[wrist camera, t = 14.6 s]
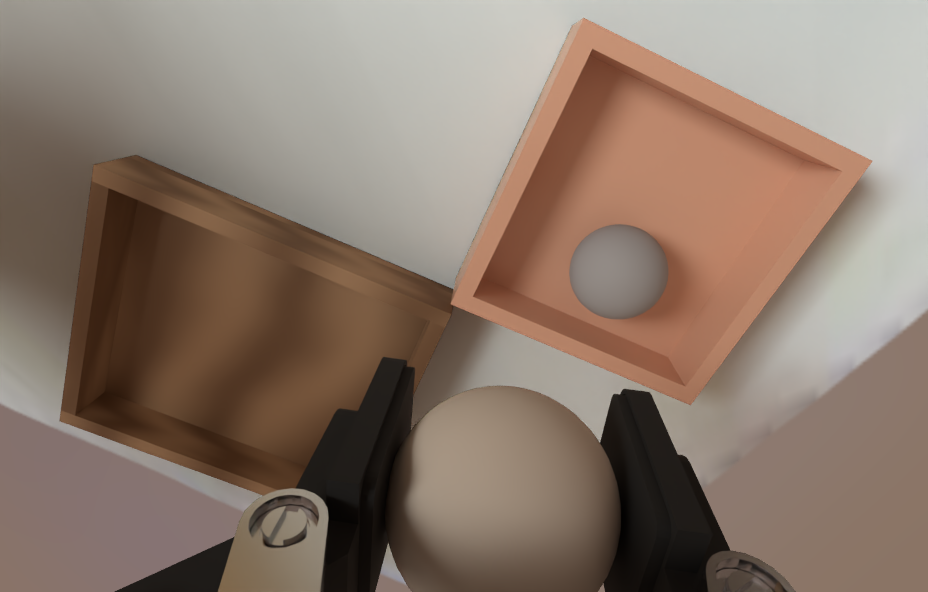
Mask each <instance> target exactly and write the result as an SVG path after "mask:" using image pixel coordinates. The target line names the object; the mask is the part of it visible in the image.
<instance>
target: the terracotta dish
mask: <svg viewBox="0 0 928 592" xmlns="http://www.w3.org/2000/svg"><path fill="white" fill-rule="evenodd" d="M871 163H872V161H871V160H869V159H867V158H865V157H863V156H861V155H859V154H857V153H855V152H853V151H851V150H849V149H847V148H845V147H843V146H841V145H839V144H837V143H835V142H833V141H831V140H829V139H827V138H825V137H823V136H821V135H819V134H817V133H815V132H813V131H811V130H809V129H807V128H805V127H803V126H801V125H799V124H797V123H795V122H793V121H791V120H789V119H787V118H785V117H783V116H781V115H779V114H777V113H775V112H773V111H771V110H769V109H767V108H764V107H762V106H760V105H758V104H756V103H754V102H752V101H750V100H748V99H746V98H744V97H742V96H740V95H738V94H736V93H734V92H732V91H730V90H728V89H726V88H724V87H722V86H720V85H718V84H716V83H714V82H712V81H710V80H708V79H706V78H704V77H702V76H700V75H698V74H696V73H694V72H692V71H690V70H688V69H686V68H684V67H682V66H680V65H678V64H676V63H674V62H672V61H670V60H668V59H666V58H664V57H662V56H660V55H658V54H656V53H654V52H651V51H649V50H647V49H645V48H643V47H641V46H639V45H637V44H635V43H633V42H631V41H629V40H627V39H625V38H623V37H621V36H619V35H617V34H615V33H613V32H611V31H609V30H607V29H605V28H603V27H601V26H599V25H597V24H595V23H593V22H591V21H589V20H587V19H585V18H583V19H581V20H580V21H578V22H577V23H575V24H574V25H572V27H571V29H570V31H569V33H568V36H567V38H566V40H565V42H564V44H563V46H562V49H561V51H560V53H559V55H558V57H557V59H556V62H555V64H554V66H553V68H552V70H551V72H550V75H549V77H548V79H547V81H546V83H545V85H544V88H543V90H542V92H541V94H540V96H539V99H538V101H537V103H536V105H535V107H534V109H533V112H532V114H531V116H530V118H529V120H528V122H527V125H526V127H525V129H524V131H523V133H522V135H521V138H520V140H519V142H518V144H517V146H516V149H515V151H514V153H513V155H512V157H511V159H510V162H509V164H508V166H507V168H506V170H505V172H504V175H503V177H502V179H501V181H500V183H499V185H498V188H497V190H496V192H495V194H494V196H493V198H492V201H491V203H490V205H489V207H488V209H487V212H486V214H485V216H484V218H483V220H482V222H481V225H480V227H479V229H478V231H477V233H476V235H475V238H474V240H473V242H472V244H471V246H470V248H469V251H468V253H467V255H466V257H465V259H464V262H463V264H462V266H461V268H460V270H459V272H458V275H457V277H456V280H455V285H454V290H453V294H452V299H451V305H454V306H456V307H458V308H461V309H463V310H465V311H468V312H470V313H473V314H475V315H477V316H480V317H482V318H484V319H487V320H489V321H492V322H494V323H496V324H499V325H501V326H504V327H506V328H508V329H511V330H513V331H515V332H518V333H520V334H523V335H525V336H527V337H530V338H532V339H534V340H537V341H539V342H542V343H544V344H546V345H549V346H551V347H553V348H556V349H558V350H561V351H563V352H565V353H568V354H570V355H573V356H575V357H577V358H580V359H582V360H584V361H587V362H589V363H592V364H594V365H596V366H599V367H601V368H603V369H606V370H608V371H611V372H613V373H615V374H618V375H620V376H622V377H625V378H627V379H630V380H632V381H634V382H637V383H639V384H642V385H644V386H646V387H649V388H651V389H653V390H656V391H658V392H661V393H663V394H665V395H668V396H670V397H672V398H675V399H677V400H680V401H682V402H684V403H687V404H689V405H691V404H692V402H693V401H694V400H695V398H696V397H697V396H698V394H699V393H700V392H701V390H702V389H703V388H704V386H705V385H706V384H707V382H708V381H709V380H710V378H711V377H712V376H713V374H714V373H715V372H716V370H717V369H718V368H719V366H720V365H721V364H722V362H723V361H724V360H725V358H726V357H727V356H728V354H729V353H730V352H731V350H732V349H733V348H734V346H735V345H736V344H737V342H738V341H739V340H740V338H741V337H742V335H743V334H744V333H745V331H746V330H747V329H748V327H749V326H750V325H751V323H752V322H753V321H754V319H755V318H756V317H757V315H758V314H759V313H760V311H761V310H762V309H763V307H764V306H765V305H766V303H767V302H768V301H769V299H770V298H771V297H772V295H773V294H774V293H775V291H776V290H777V289H778V287H779V286H780V285H781V283H782V282H783V281H784V279H785V278H786V277H787V275H788V274H789V272H790V271H791V270H792V268H793V267H794V266H795V264H796V263H797V262H798V260H799V259H800V258H801V256H802V255H803V254H804V252H805V251H806V250H807V248H808V247H809V246H810V244H811V243H812V242H813V240H814V239H815V238H816V236H817V235H818V234H819V232H820V231H821V230H822V228H823V227H824V226H825V224H826V223H827V222H828V220H829V219H830V218H831V216H832V215H833V214H834V212H835V211H836V210H837V208H838V207H839V205H840V204H841V203H842V201H843V200H844V199H845V197H846V196H847V195H848V193H849V192H850V191H851V189H852V188H853V187H854V185H855V184H856V183H857V181H858V180H859V179H860V177H861V176H862V175H863V173H864V172H865V171H866V169H867V168H868V167H869V165H870V164H871ZM615 224H623V225H630V226H634V227H637V228H640V229H642V230H644V231H646V232H647V233H649V234H650V235H651V236H653V237H654V238H655V239H656V240H657V242H658V243H659V244H660V246H661V247H662V249H663V251H664V253H665V255H666V258H667V262H668V281H667V285H666V288H665V290H664V292H663V294H662V296H661V297H660V299H659V300H658V301H657V302H656V304H655V305H654V306H653V307H651V308H650V309H649V310H647V311H646V312H644V313H642V314H641V315H638V316H636V317H633V318H629V319H608V318H604V317H601V316H598V315H596V314H594V313H592V312H591V311H589V310H588V309H587V308H586V307H585V306H583V305H582V304H581V302H580V301H579V300H578V299H577V297H576V295H575V294H574V292H573V289H572V286H571V283H570V276H569V268H570V263H571V259H572V256H573V253H574V251H575V249H576V248H577V246H578V245H579V244H580V242H581V241H582V240H583V239H584V238H585V237H586V236H588V235H589V234H590V233H592V232H593V231H595V230H597V229H599V228H602V227H605V226H609V225H615Z"/></svg>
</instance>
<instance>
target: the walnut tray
mask: <svg viewBox="0 0 928 592" xmlns="http://www.w3.org/2000/svg"><path fill="white" fill-rule="evenodd" d="M452 294H453V289H451V288H449V287H446V286H444V285H442V284H439V283H437V282H434V281H432V280H430V279H427V278H425V277H423V276H420V275H418V274H416V273H413V272H411V271H408V270H406V269H404V268H401V267H399V266H397V265H394V264H392V263H390V262H387V261H385V260H382V259H380V258H378V257H375V256H373V255H371V254H368V253H366V252H364V251H361V250H359V249H357V248H354V247H352V246H349V245H347V244H345V243H342V242H340V241H338V240H335V239H333V238H331V237H328V236H326V235H323V234H321V233H319V232H316V231H314V230H312V229H309V228H307V227H305V226H302V225H300V224H298V223H295V222H293V221H290V220H288V219H286V218H283V217H281V216H279V215H276V214H274V213H272V212H269V211H267V210H264V209H262V208H260V207H257V206H255V205H253V204H250V203H248V202H246V201H243V200H241V199H239V198H236V197H234V196H231V195H229V194H227V193H224V192H222V191H220V190H217V189H215V188H213V187H210V186H208V185H205V184H203V183H201V182H198V181H196V180H194V179H191V178H189V177H187V176H184V175H182V174H179V173H177V172H175V171H172V170H170V169H168V168H165V167H163V166H161V165H158V164H156V163H154V162H151V161H149V160H146V159H144V158H142V157H139V156H137V155H134V156H130V157H125V158H121V159H117V160H112V161H108V162H103V163H99V164H94V165H93V173H92V180H91V188H90V195H89V203H88V210H87V218H86V226H85V233H84V241H83V248H82V256H81V263H80V271H79V278H78V286H77V293H76V301H75V308H74V316H73V323H72V331H71V339H70V346H69V354H68V361H67V369H66V376H65V384H64V391H63V399H62V406H61V414H60V421H61V422H64V423H66V424H69V425H72V426H75V427H77V428H80V429H83V430H86V431H88V432H91V433H94V434H97V435H99V436H102V437H105V438H107V439H110V440H113V441H116V442H118V443H121V444H124V445H127V446H129V447H132V448H135V449H138V450H140V451H143V452H146V453H149V454H151V455H154V456H157V457H160V458H162V459H165V460H168V461H171V462H173V463H176V464H179V465H182V466H184V467H187V468H190V469H192V470H195V471H198V472H201V473H203V474H206V475H209V476H212V477H214V478H217V479H220V480H223V481H225V482H228V483H231V484H234V485H236V486H239V487H242V488H245V489H247V490H250V491H253V492H256V493H258V494H261V495H266V494H268V493H271V492H274V491H277V490H282V489H290V488H293V489H295V488H296V486H297V484H298V482H299V480H300V478H301V476H302V474H303V473H304V471H305V469H306V467H307V465H308V463H309V461H310V459H311V457H312V455H313V453H314V452H315V450H316V448H317V446H318V444H319V442H320V440H321V438H322V436H323V434H324V432H325V431H326V429H327V427H328V425H329V423H330V421H331V419H332V417H333V415H334V413H335V412H336V410H337V409H339V408H341V409H348V410H355V411H358V409H359V407H360V405H361V403H362V401H363V398H364V396H365V394H366V392H367V390H368V388H369V385H370V383H371V381H372V379H373V377H374V374H375V372H376V370H377V368H378V366H379V364H380V361H381V359H382V358H383V357H388V358H396V359H403V360H407V366H409V367H415V379H414V392H413V395H414V393H415V391H416V388H417V386H418V384H419V382H420V380H421V378H422V376H423V374H424V371H425V369H426V367H427V365H428V363H429V361H430V359H431V357H432V354H433V352H434V350H435V348H436V346H437V344H438V342H439V340H440V337H441V335H442V333H443V331H444V329H445V327H446V325H447V323H448V320H449V318H450V316H451V314H452V309H453V305H451V299H452Z"/></svg>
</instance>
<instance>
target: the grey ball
mask: <svg viewBox="0 0 928 592" xmlns="http://www.w3.org/2000/svg"><path fill="white" fill-rule="evenodd" d="M569 276H570V283H571V286H572V289H573V292H574V294H575V295H576V297H577V299H578V300H579V301H580V302H581V304H582V305H583V306H585V307H586V308H587V309H588V310H589V311H591V312H592V313H594V314H596V315H598V316H601V317H604V318H608V319H629V318H633V317H636V316H638V315H641V314H642V313H644V312H646V311H647V310H649V309H650V308H651V307H653V306H654V305H655V304H656V302H657V301H658V300H659V299H660V297H661V296H662V294H663V292H664V290H665V288H666V285H667V281H668V262H667V258H666V255H665V253H664V251H663V249H662V247H661V246H660V244H659V243H658V242H657V240H656V239H655V238H654V237H653V236H651V235H650V234H649V233H647V232H646V231H644V230H642V229H640V228H637V227H634V226H630V225H623V224H615V225H609V226H605V227H602V228H599V229H597V230H595V231H593V232H592V233H590V234H589V235H588V236H586V237H585V238H584V239H583V240H582V241H581V242H580V244H579V245H578V246H577V248H576V249H575V251H574V253H573V256H572V259H571V263H570V268H569Z"/></svg>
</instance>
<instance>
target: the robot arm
mask: <svg viewBox="0 0 928 592" xmlns="http://www.w3.org/2000/svg"><path fill="white" fill-rule="evenodd" d="M414 379H415V367H409V366H407V360H403V359H396V358H388V357H383V358H382V359H381V361H380V364H379V366H378V368H377V370H376V372H375V374H374V377H373V379H372V381H371V383H370V385H369V388H368V390H367V392H366V394H365V396H364V398H363V401H362V403H361V405H360V407H359V409H358V411H355V410H348V409H341V408H339V409H337V410H336V412H335V413H334V415H333V417H332V419H331V421H330V423H329V425H328V427H327V429H326V431H325V432H324V434H323V436H322V438H321V440H320V442H319V444H318V446H317V448H316V450H315V452H314V453H313V455H312V457H311V459H310V461H309V463H308V465H307V467H306V469H305V471H304V473H303V474H302V476H301V478H300V480H299V482H298V484H297V486H296V488H295V489H293V488H290V489H282V490H277V491H274V492H271V493H268V494H266V495H264V496H262V497H261V498H259V499H257V500H256V501H254V502H253V503H252V504H251V505H250V506H249V507H248V508H247V509H246V510H245V511H244V513H243V516H242V517H241V519H240V521H239V524H238V527H237V531H236V534H235V537H233V538H231V539H229V540H227V541H225V542H223V543H220V544H218V545H216V546H214V547H212V548H209V549H207V550H205V551H203V552H201V553H198V554H196V555H194V556H192V557H190V558H187V559H185V560H183V561H181V562H179V563H176V564H174V565H172V566H170V567H168V568H165V569H164V570H161V571H159V572H157V573H155V574H153V575H150V576H148V577H146V578H144V579H141V580H139V581H137V582H135V583H133V584H130V585H128V586H126V587H124V588H122V589H119V590H117V591H115V592H375V590H376V586H377V582H378V579H379V575H380V571H381V567H382V564H383V560H384V556H385V552H386V548H387V545H388V537H387V531H386V525H385V506H386V497H387V491H388V485H389V479H390V475H391V470H392V466H393V463H394V460H395V457H396V454H397V452H398V450H399V449H400V447H401V445H402V443H403V441H404V440H405V438H406V437H407V435H408V434H409V432H410V431H411V418H412V405H413V392H414ZM600 444H601V446H602V447H603V449H604V451H605V453H606V455H607V457H608V459H609V461H610V464H611V466H612V469H613V472H614V475H615V478H616V481H617V485H618V490H619V496H620V503H621V531H620V537H619V543H618V547H617V552H616V556H615V558H614V561H613V564H612V566H611V569H610V571H609V574H608V576H607V578H606V579H605V581H604V588H605V592H796V591H795V590H794V589H793V588H792V586H791V585H790V584H789V582H788V581H787V580H786V579H785V578H784V577H783V576H782V575H781V574H780V573H778V572H777V571H776V570H775V569H774V568H773V567H771V566H769V565H768V564H766V563H765V562H763V561H761V560H760V559H758V558H755V557H753V556H750V555H748V554H746V553H741V552H736V551H730V549H729V546H728V544H727V542H726V540H725V538H724V535H723V533H722V531H721V529H720V527H719V525H718V523H717V520H716V518H715V516H714V514H713V512H712V510H711V507H710V505H709V503H708V501H707V499H706V497H705V494H704V492H703V490H702V488H701V486H700V484H699V481H698V479H697V477H696V475H695V473H694V471H693V468H692V466H691V464H690V462H689V461H688V459H687V458H686V457H685V456H683V455H678V454H677V452H676V450H675V448H674V445H673V443H672V441H671V439H670V436H669V434H668V432H667V429H666V427H665V425H664V423H663V420H662V418H661V416H660V414H659V411H658V409H657V407H656V404H655V402H654V400H653V398H652V395H651V394H650V393H649V392H644V391H636V390H629V389H623V390H622V392H621V394H620V395H618V394H614V395H613V396H612V399H611V403H610V407H609V410H608V414H607V418H606V422H605V426H604V430H603V434H602V438H601V442H600Z"/></svg>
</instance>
